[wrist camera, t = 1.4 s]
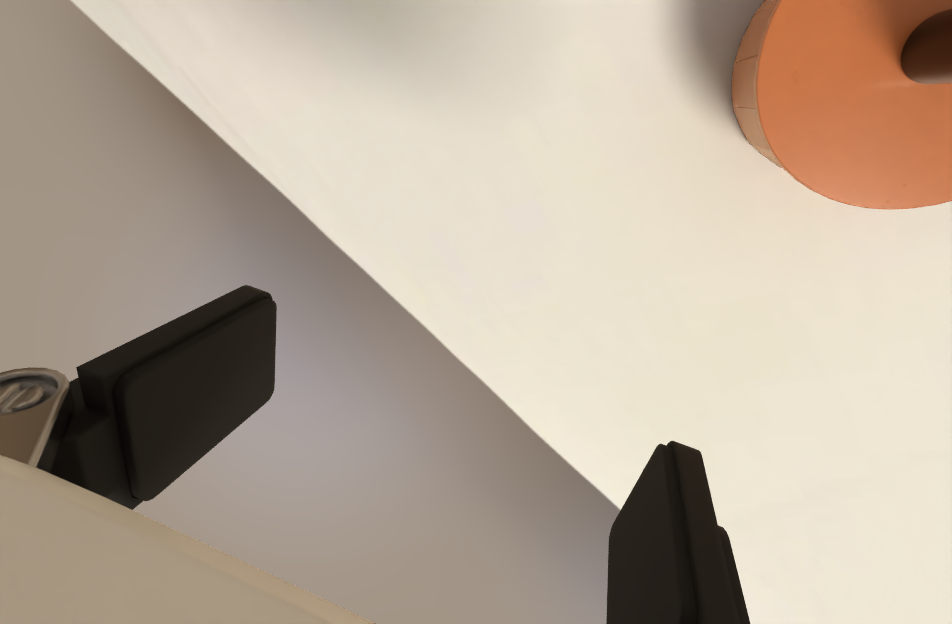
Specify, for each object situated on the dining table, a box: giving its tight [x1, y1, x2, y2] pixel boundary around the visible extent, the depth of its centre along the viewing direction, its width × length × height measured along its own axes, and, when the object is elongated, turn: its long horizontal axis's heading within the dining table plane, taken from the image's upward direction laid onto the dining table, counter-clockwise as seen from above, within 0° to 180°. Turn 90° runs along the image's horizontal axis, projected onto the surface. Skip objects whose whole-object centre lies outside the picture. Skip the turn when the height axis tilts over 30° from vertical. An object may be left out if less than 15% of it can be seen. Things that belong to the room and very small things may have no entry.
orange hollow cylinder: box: [732, 0, 784, 169], centre depth 22 cm, size 12×12×8 cm
